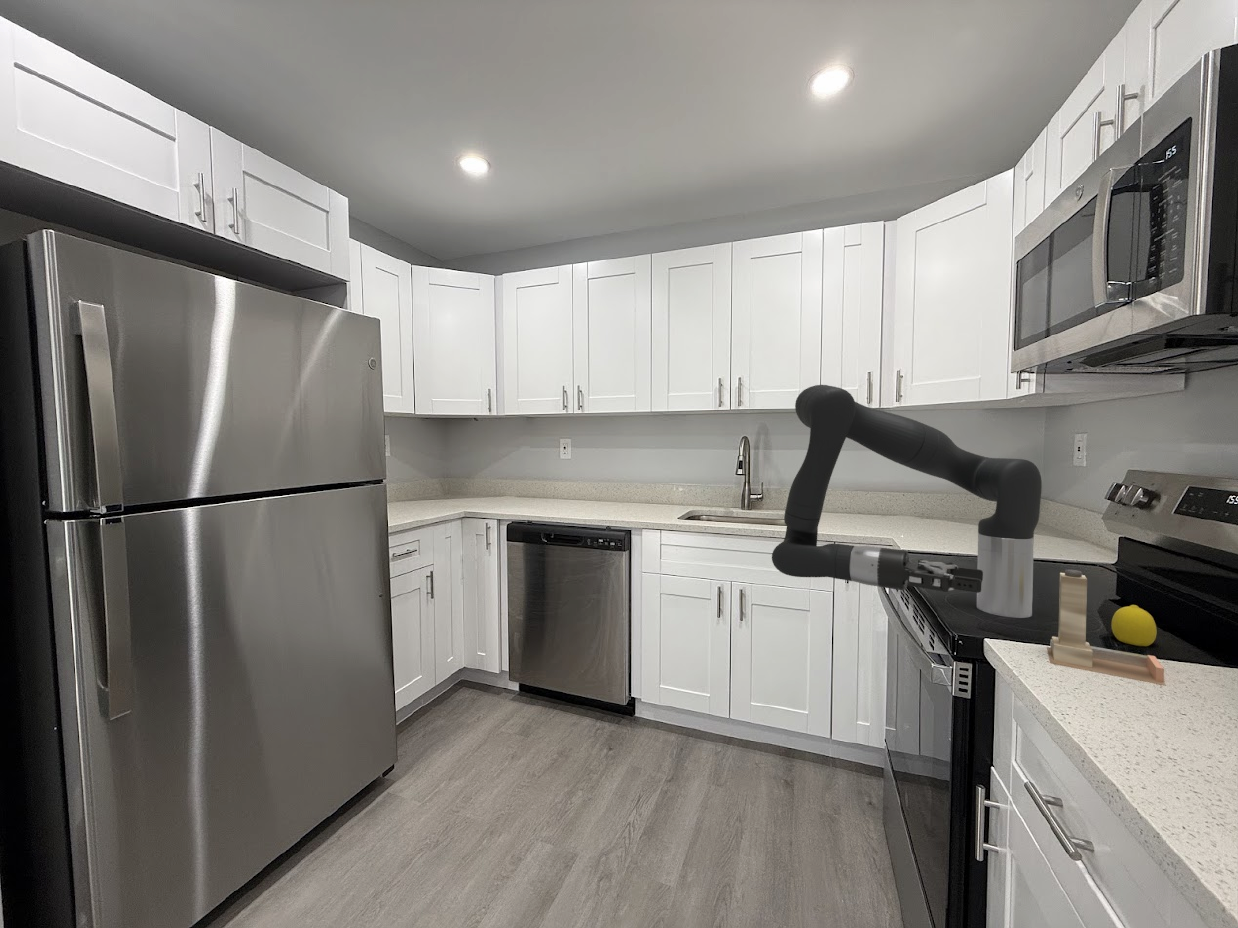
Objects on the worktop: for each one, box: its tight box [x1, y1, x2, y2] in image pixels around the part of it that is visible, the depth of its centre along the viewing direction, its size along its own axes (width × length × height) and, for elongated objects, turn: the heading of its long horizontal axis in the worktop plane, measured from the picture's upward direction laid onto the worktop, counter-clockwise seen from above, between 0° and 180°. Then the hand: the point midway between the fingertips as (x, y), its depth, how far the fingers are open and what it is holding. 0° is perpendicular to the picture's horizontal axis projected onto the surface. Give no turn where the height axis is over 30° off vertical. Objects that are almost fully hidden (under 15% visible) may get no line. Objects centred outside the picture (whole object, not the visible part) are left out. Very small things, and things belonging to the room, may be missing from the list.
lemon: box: [1111, 604, 1158, 647], centre depth 88 cm, size 6×6×8 cm
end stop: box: [1146, 654, 1165, 683], centre depth 76 cm, size 5×1×2 cm, turn 143°
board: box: [1046, 646, 1167, 686], centre depth 79 cm, size 8×13×2 cm, turn 53°
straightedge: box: [1049, 638, 1147, 668], centre depth 82 cm, size 1×12×2 cm, turn 53°
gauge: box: [1051, 569, 1093, 667], centre depth 81 cm, size 4×4×14 cm
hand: (982, 581), depth 88 cm, fingers open, 8 cm apart
